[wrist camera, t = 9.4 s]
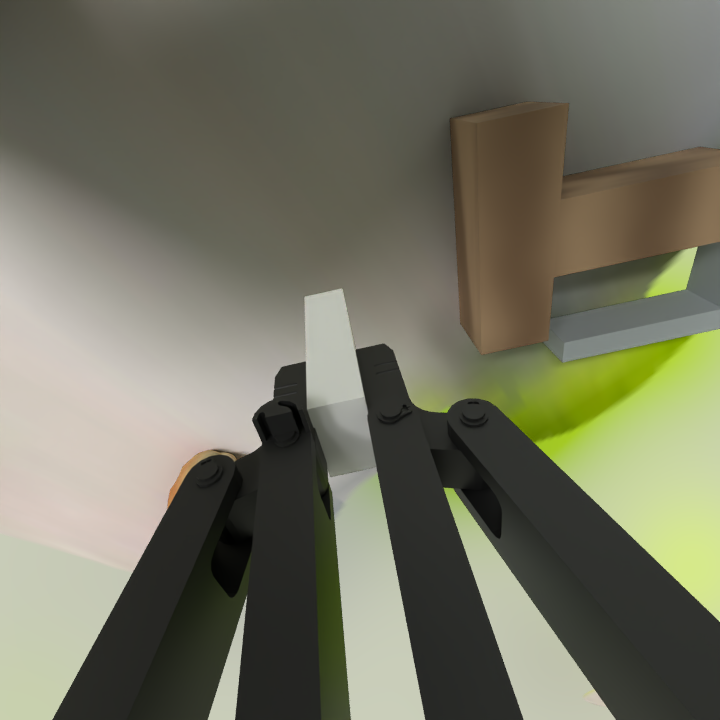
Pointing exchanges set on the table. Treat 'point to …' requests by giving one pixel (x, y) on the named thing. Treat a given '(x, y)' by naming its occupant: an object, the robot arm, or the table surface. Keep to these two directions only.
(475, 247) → the t block
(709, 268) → the bracket
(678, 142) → the table surface
